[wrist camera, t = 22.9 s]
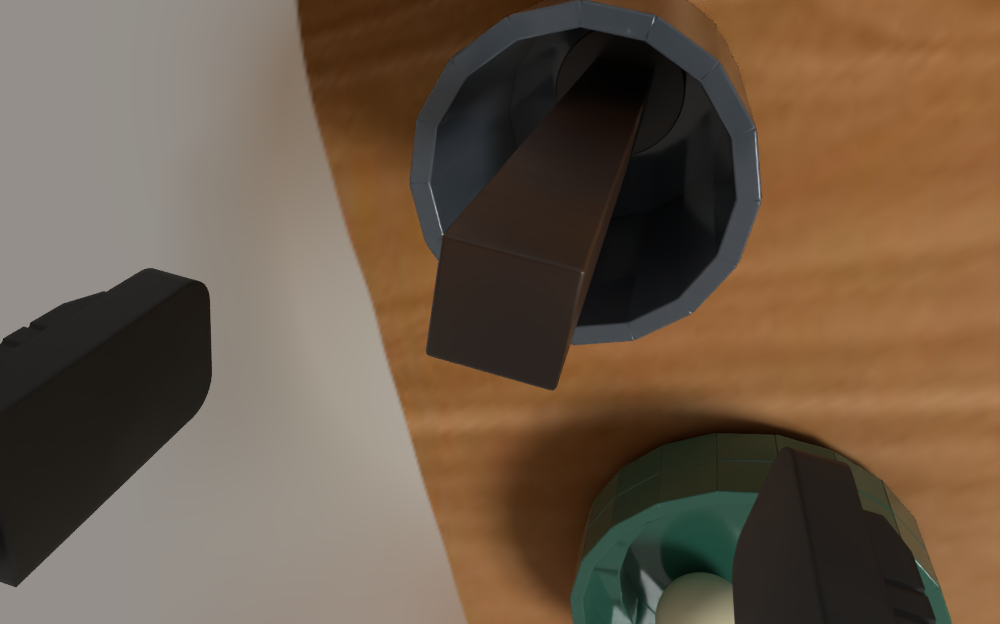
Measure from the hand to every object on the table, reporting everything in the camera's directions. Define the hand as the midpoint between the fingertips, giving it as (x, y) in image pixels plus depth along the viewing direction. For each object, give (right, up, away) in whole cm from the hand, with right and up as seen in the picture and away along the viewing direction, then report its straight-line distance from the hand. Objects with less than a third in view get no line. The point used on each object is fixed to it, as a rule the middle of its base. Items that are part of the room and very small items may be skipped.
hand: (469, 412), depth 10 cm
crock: (+5, +9, +17) cm, 20 cm away
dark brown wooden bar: (+5, +9, +16) cm, 19 cm away
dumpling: (+10, -13, +24) cm, 29 cm away
